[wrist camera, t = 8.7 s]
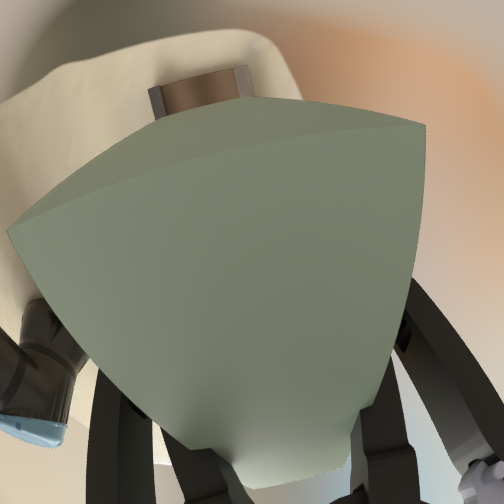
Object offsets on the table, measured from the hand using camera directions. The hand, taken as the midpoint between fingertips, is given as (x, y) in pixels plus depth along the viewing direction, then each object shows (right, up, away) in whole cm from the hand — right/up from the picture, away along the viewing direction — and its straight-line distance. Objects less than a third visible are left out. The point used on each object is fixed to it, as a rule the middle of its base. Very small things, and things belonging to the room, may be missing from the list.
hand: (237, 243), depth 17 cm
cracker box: (0, +1, +2) cm, 2 cm away
